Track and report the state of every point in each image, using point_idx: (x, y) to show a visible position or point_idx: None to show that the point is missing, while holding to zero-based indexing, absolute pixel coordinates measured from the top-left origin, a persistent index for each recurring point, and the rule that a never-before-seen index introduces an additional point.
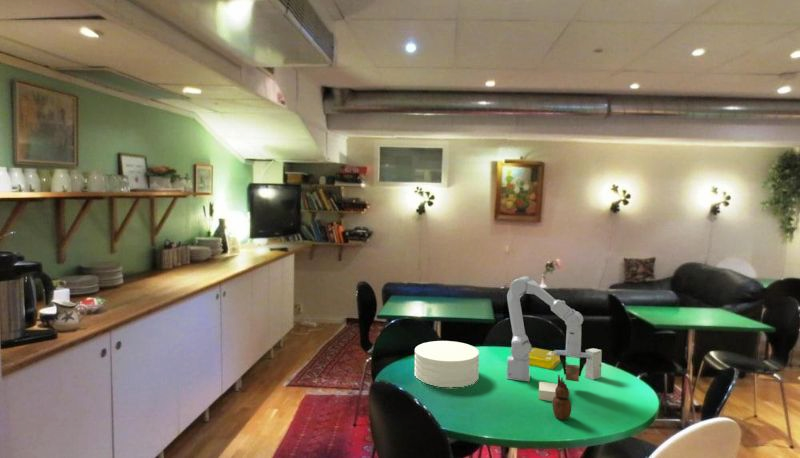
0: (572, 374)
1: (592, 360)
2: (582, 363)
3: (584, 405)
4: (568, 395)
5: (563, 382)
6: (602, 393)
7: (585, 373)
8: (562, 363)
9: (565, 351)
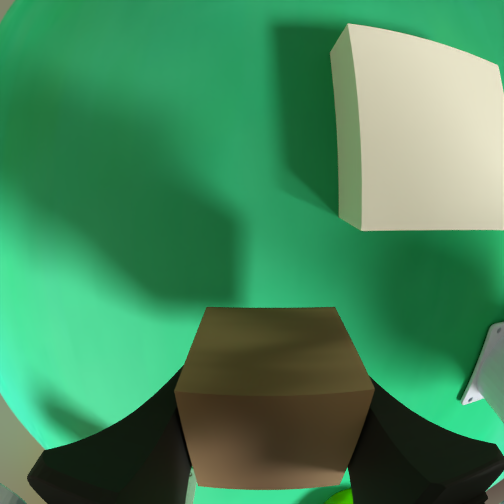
0: (272, 344)
1: None
2: (94, 461)
3: (185, 53)
4: None
5: None
6: (84, 307)
7: (193, 483)
8: (437, 430)
9: None
